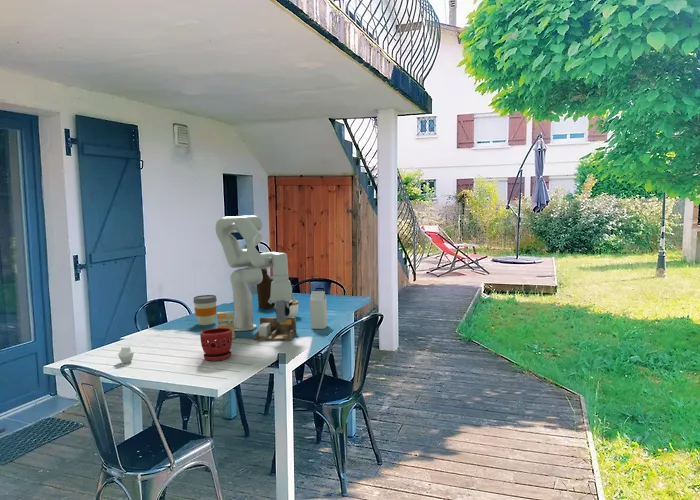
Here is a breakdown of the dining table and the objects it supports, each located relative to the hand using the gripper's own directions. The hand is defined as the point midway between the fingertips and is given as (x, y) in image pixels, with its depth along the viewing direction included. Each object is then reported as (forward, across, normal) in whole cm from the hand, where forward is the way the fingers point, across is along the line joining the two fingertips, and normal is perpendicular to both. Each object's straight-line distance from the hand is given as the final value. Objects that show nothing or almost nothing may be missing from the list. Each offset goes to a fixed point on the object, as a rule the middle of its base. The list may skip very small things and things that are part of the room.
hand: (282, 315), depth 250 cm
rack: (+11, -4, 0) cm, 11 cm away
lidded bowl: (+10, -7, +44) cm, 46 cm away
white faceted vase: (+11, -59, -39) cm, 72 cm away
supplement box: (+11, -28, -2) cm, 30 cm away
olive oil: (+10, -28, +75) cm, 81 cm away
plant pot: (+11, -21, -34) cm, 41 cm away
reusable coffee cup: (+10, -51, +32) cm, 61 cm away
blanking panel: (+2, 0, 0) cm, 2 cm away
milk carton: (+11, +15, +18) cm, 26 cm away
